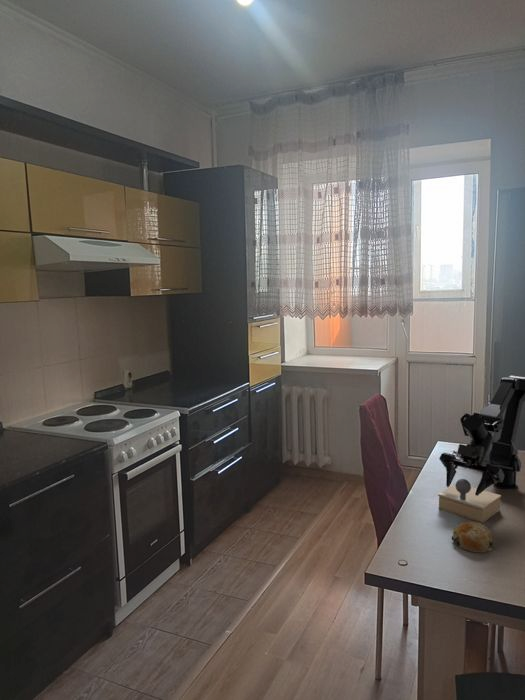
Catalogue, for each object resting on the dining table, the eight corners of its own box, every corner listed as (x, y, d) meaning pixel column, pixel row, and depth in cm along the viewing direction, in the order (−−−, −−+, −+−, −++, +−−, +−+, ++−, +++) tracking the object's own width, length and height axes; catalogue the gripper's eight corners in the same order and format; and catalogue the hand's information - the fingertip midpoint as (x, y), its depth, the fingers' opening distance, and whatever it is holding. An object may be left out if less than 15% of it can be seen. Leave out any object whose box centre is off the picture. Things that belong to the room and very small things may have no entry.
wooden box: (456, 497, 172) (457, 485, 171) (499, 510, 161) (500, 498, 161) (438, 508, 164) (439, 496, 163) (482, 523, 153) (482, 510, 153)
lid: (456, 484, 171) (457, 464, 170) (501, 497, 161) (501, 476, 160) (437, 496, 163) (437, 475, 162) (482, 510, 152) (483, 488, 151)
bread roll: (481, 568, 136) (496, 546, 134) (445, 544, 141) (459, 522, 138) (487, 551, 145) (501, 530, 142) (453, 529, 149) (466, 507, 146)
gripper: (442, 428, 166) (424, 470, 160) (501, 440, 152) (484, 486, 146) (454, 446, 172) (436, 487, 166) (511, 459, 159) (494, 504, 153)
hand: (461, 490), depth 158 cm, fingers open, 9 cm apart
